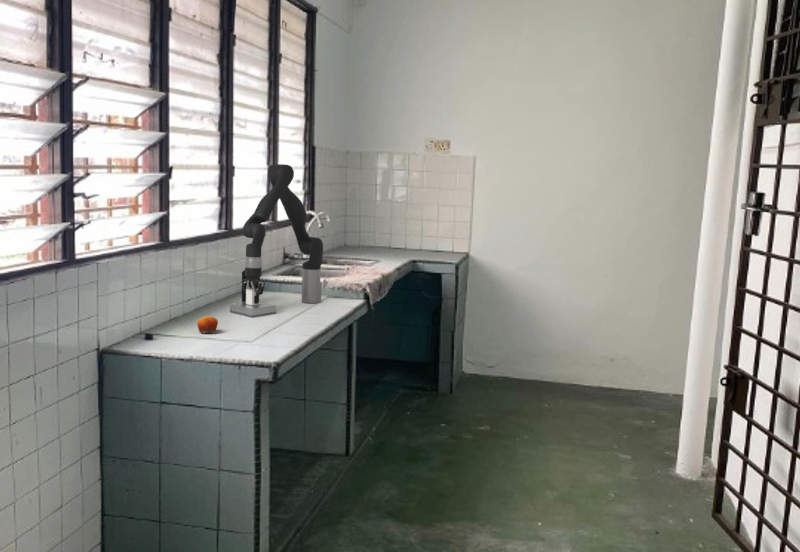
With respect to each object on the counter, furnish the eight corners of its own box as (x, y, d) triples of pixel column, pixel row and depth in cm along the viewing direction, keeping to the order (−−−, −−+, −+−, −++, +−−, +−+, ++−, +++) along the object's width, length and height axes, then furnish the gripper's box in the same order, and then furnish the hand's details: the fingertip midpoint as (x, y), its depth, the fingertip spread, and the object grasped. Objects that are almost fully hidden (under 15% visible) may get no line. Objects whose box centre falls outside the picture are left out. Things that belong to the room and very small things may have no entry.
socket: (253, 308, 346) (253, 299, 345) (275, 313, 336) (276, 304, 335) (229, 312, 335) (229, 302, 334) (252, 317, 325) (252, 307, 325)
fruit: (200, 333, 287) (198, 314, 289) (197, 339, 293) (195, 320, 296) (221, 331, 290) (218, 313, 293) (217, 337, 297) (214, 319, 299)
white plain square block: (253, 303, 338) (253, 288, 337) (259, 304, 335) (259, 289, 334) (245, 304, 335) (245, 289, 334) (252, 305, 332) (252, 290, 331)
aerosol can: (261, 304, 357) (262, 264, 354) (249, 306, 350) (250, 265, 347) (249, 302, 361) (249, 262, 358) (237, 304, 354) (237, 264, 351)
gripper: (269, 267, 331) (269, 304, 333) (249, 263, 340) (249, 299, 342) (257, 268, 325) (256, 305, 328) (237, 265, 334) (236, 301, 336)
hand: (252, 302), depth 335 cm, fingers closed on white plain square block, 4 cm apart
